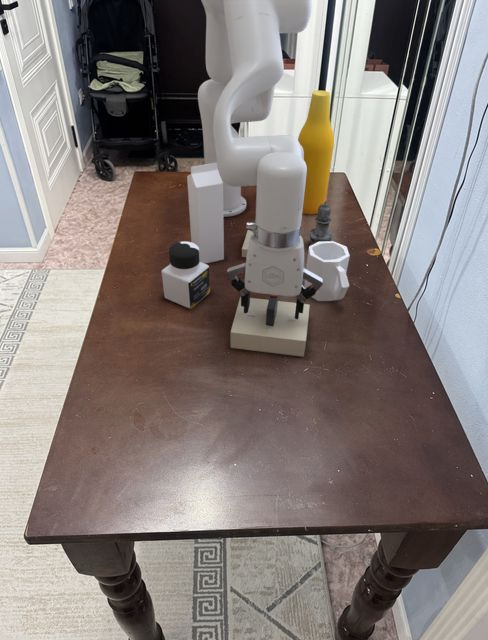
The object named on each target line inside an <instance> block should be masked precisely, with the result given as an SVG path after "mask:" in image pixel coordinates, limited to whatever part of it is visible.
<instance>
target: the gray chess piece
mask: <svg viewBox="0 0 488 640" xmlns="http://www.w3.org/2000/svg"><path fill="white" fill-rule="evenodd" d="M331 211H332V208H331V206H330V205H329V204H328V202H327V200H326V201H325V202H324V204H322V205H320V206H319V208H318V214H316V215H317V216H316V217H315V218H314V220H315V227H314V228H312V229H310V230H309V232H308V236H309V239H310V242H309V243H308V248H309V247H310V246H311V245H313V244H315V243H317V242H325V241H332V239H333V238H334V233H333V231H331V230H330V229H329V227H330V223H331V221H332V219H331V217H330V216H331Z"/></svg>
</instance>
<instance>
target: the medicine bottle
mask: <svg viewBox="0 0 488 640" xmlns="http://www.w3.org/2000/svg"><path fill="white" fill-rule="evenodd" d="M168 257H169V264H168V265H166V266H165V267H164V268H163V269H161V279H162V280H161V281H162V288H163V296H164V299H166V300H168V301H170V302H173V303H176V304H177V305H180V306H183V307H185V308H187V309H188V310H189V309H190V310H191V309H193V308H194V307H195V306H196V305H198V304H199V303H200V302H201V301H202V300H203V299H204V298H205V297H207V296H208V295H209V294H210V293H211V285H210V265H208V263H206V264H204V263H201V262H200V255H199V247H198V246H197V245H196V244H194V243H192V242H191V241H186V240H185V241H178V242H174V243H173V244H171V246H170V247H169V248H168Z"/></svg>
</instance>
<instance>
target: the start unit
mask: <svg viewBox="0 0 488 640" xmlns="http://www.w3.org/2000/svg"><path fill="white" fill-rule="evenodd" d="M252 234H253V231H251V230H246V235H245V237H244V241H243V244H242V247H241V258H247V250H248V245H249V241H250V238H251V236H252Z"/></svg>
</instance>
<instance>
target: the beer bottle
mask: <svg viewBox="0 0 488 640" xmlns="http://www.w3.org/2000/svg"><path fill="white" fill-rule="evenodd" d="M330 116H331V93H330V92H329V91H327V90H313V91H312V93H311V97H310V103H309V108H308V113H307V117H306V120H305V122H304V124H303V125H302V127H301V129H300V131H299V133H298V138H297V140H298V141H299V143H300V145H301V146H302V148H303V152H304V161H305V163H306V166H307V175H306V184H305V193H304V202H303V211H302V215H311V216H313V215H318V208H319V206H320V205H322V204H324V202H325V201H326V202H327V196H328V190H329V189H328V188H329V182H330V175H331V167H332V160H333V153H334V147H335V136H334V130H333V127H332V125H331V119H330Z"/></svg>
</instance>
